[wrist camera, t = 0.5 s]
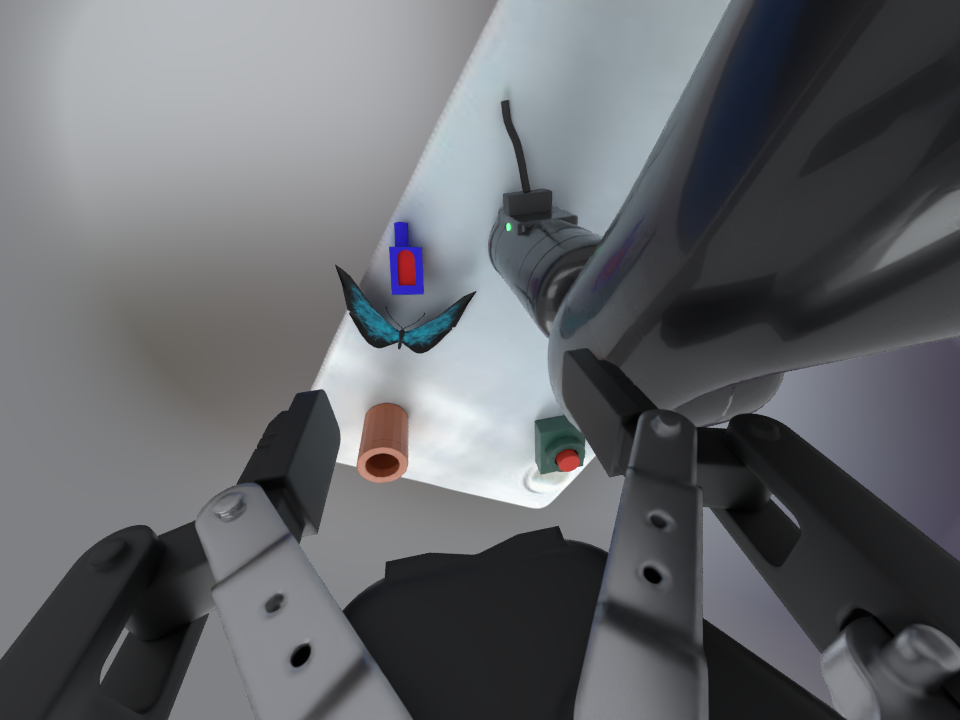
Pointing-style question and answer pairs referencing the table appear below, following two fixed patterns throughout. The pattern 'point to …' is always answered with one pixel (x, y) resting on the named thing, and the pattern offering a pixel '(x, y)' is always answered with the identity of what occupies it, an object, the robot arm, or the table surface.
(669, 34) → the table surface
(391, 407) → the jar
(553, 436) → the green button base
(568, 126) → the table surface
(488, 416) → the table surface
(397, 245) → the toy building block
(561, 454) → the button
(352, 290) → the butterfly
